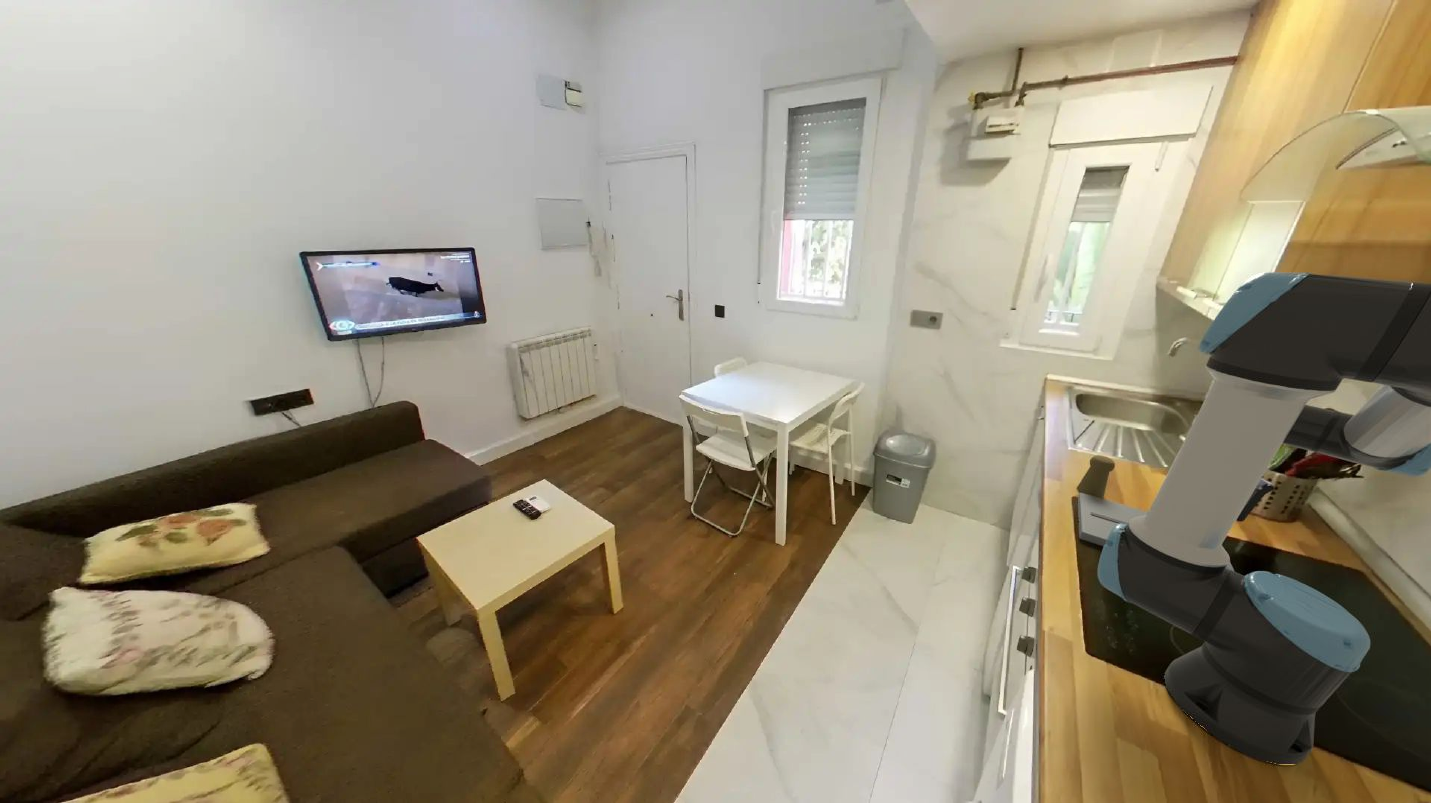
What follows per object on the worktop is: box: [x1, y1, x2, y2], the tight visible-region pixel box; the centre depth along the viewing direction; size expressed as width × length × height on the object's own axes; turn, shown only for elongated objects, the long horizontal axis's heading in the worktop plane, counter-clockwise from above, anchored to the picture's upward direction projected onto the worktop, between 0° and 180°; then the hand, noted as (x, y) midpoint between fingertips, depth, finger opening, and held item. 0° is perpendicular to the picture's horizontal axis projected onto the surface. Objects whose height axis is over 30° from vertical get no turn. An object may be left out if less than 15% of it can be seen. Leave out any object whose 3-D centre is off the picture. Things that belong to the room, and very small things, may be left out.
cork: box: [1076, 455, 1116, 499], centre depth 121 cm, size 6×6×11 cm
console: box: [1077, 492, 1236, 572], centre depth 106 cm, size 20×26×2 cm
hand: (1192, 536), depth 101 cm, fingers closed on fader tab, 3 cm apart
